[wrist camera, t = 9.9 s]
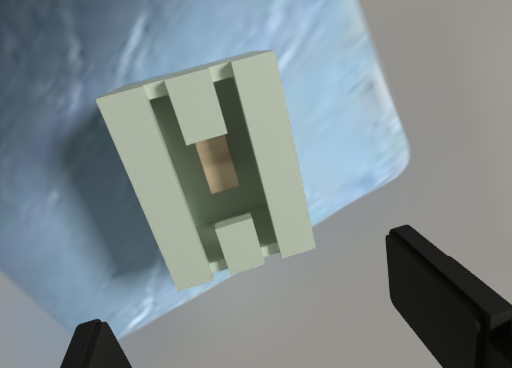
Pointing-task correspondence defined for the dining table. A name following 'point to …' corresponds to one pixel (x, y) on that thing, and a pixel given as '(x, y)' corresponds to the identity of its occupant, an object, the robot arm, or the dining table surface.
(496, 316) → the robot arm
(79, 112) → the dining table surface
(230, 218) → the box
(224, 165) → the block
